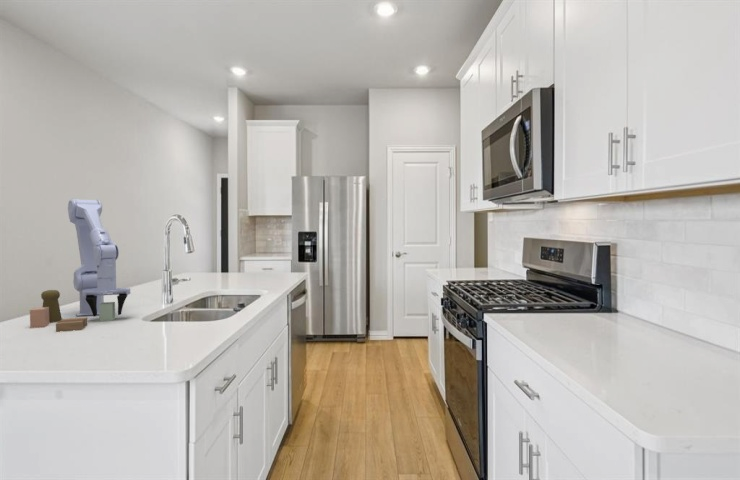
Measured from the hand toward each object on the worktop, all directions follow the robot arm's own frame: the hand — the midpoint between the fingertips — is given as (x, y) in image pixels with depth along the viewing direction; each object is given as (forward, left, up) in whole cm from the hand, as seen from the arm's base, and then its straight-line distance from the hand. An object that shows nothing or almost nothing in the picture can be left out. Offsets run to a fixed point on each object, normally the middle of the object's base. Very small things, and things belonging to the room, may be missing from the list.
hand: (107, 315), depth 148 cm
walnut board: (+10, -8, -2) cm, 13 cm away
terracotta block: (+3, -19, -2) cm, 19 cm away
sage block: (0, 0, -2) cm, 2 cm away
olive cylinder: (-4, -18, -2) cm, 19 cm away
